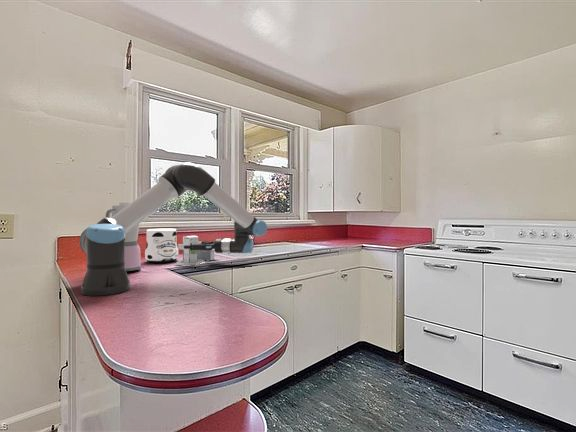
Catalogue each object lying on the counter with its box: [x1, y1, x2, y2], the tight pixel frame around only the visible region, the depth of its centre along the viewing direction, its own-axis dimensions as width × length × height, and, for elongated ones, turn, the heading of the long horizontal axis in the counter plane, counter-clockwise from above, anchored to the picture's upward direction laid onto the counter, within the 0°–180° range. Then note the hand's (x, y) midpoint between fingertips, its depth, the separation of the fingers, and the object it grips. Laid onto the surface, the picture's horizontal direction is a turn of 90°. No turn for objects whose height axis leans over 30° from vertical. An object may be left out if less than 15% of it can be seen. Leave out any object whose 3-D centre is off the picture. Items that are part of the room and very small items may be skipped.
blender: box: [105, 202, 142, 272], centre depth 147 cm, size 16×12×32 cm
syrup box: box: [182, 235, 199, 263], centre depth 168 cm, size 6×6×14 cm
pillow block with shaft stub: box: [198, 249, 215, 261], centre depth 182 cm, size 6×12×10 cm, turn 84°
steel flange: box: [175, 259, 205, 267], centre depth 168 cm, size 12×12×2 cm
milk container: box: [144, 228, 179, 264], centre depth 176 cm, size 17×17×18 cm
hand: (184, 245), depth 168 cm, fingers open, 13 cm apart
